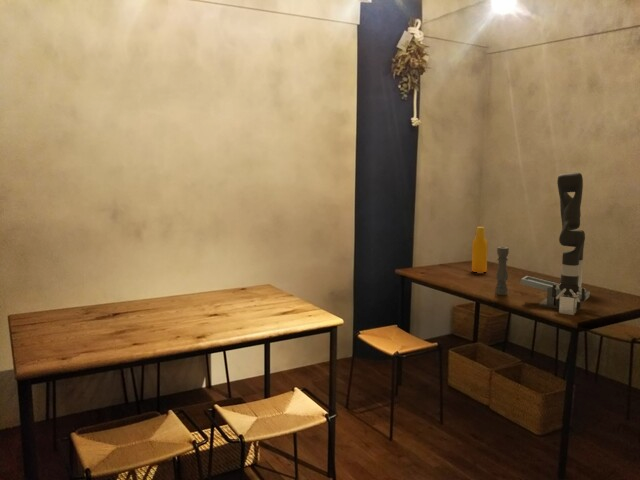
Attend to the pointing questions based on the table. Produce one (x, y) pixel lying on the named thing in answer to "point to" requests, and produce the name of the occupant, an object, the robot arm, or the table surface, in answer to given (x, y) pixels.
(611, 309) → the table surface
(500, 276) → the candle holder
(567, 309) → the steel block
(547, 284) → the beam
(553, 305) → the pivot stand
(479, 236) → the beer bottle
